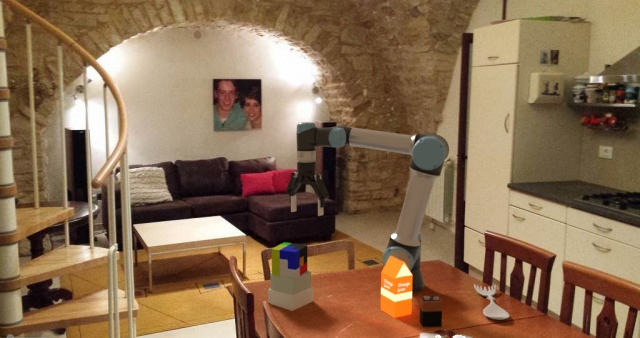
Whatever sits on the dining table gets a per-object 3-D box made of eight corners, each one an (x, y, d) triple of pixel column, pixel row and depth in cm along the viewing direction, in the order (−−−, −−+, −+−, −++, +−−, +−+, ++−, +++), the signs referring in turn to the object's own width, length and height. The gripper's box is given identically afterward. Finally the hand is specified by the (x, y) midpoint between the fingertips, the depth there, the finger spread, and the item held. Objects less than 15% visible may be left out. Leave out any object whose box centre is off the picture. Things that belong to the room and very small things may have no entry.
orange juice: (394, 318, 193) (395, 263, 190) (380, 309, 200) (381, 256, 198) (412, 314, 196) (413, 260, 193) (397, 305, 204) (398, 254, 201)
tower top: (311, 286, 208) (311, 271, 207) (293, 295, 199) (293, 279, 198) (288, 280, 214) (288, 266, 213) (270, 288, 205) (270, 273, 205)
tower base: (312, 302, 208) (312, 287, 207) (292, 312, 199) (292, 296, 198) (289, 295, 215) (289, 280, 215) (268, 304, 206) (268, 288, 205)
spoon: (495, 291, 219) (496, 283, 218) (512, 325, 187) (512, 315, 187) (472, 290, 220) (473, 282, 220) (485, 323, 189) (485, 314, 188)
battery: (419, 322, 189) (419, 294, 188) (438, 321, 190) (439, 294, 188) (422, 327, 185) (423, 299, 183) (442, 327, 185) (442, 298, 184)
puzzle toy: (295, 278, 199) (295, 252, 198) (271, 275, 203) (271, 249, 202) (307, 270, 208) (307, 245, 207) (284, 267, 212) (284, 242, 211)
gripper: (276, 160, 221) (277, 211, 224) (326, 164, 206) (327, 218, 209) (287, 158, 227) (288, 208, 230) (337, 162, 213) (337, 215, 215)
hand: (307, 213), depth 219 cm, fingers open, 13 cm apart
